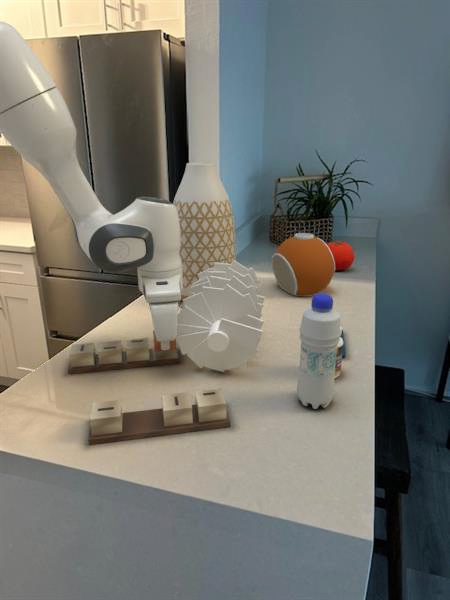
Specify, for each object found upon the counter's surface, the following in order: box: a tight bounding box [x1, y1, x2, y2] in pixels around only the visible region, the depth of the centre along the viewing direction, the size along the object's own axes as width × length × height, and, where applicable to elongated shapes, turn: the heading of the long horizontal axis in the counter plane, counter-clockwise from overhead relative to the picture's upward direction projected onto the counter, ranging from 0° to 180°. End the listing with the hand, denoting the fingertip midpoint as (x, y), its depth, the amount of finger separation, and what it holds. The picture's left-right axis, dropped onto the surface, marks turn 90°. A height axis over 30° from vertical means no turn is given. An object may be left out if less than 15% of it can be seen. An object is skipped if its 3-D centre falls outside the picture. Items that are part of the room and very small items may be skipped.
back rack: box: [67, 337, 180, 375], centre depth 89 cm, size 22×6×4 cm, turn 101°
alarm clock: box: [271, 232, 336, 297], centre depth 131 cm, size 19×18×17 cm
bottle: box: [296, 293, 341, 410], centre depth 72 cm, size 7×7×20 cm
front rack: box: [87, 388, 231, 446], centre depth 69 cm, size 22×6×4 cm, turn 101°
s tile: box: [152, 329, 178, 352], centre depth 90 cm, size 4×4×3 cm
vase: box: [172, 162, 237, 301], centre depth 120 cm, size 19×18×38 cm
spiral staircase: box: [176, 260, 266, 373], centre depth 92 cm, size 18×18×25 cm
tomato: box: [326, 239, 355, 272], centre depth 153 cm, size 11×13×10 cm
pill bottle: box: [334, 325, 343, 379], centre depth 84 cm, size 6×6×10 cm
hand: (164, 342), depth 90 cm, fingers closed on s tile, 4 cm apart
